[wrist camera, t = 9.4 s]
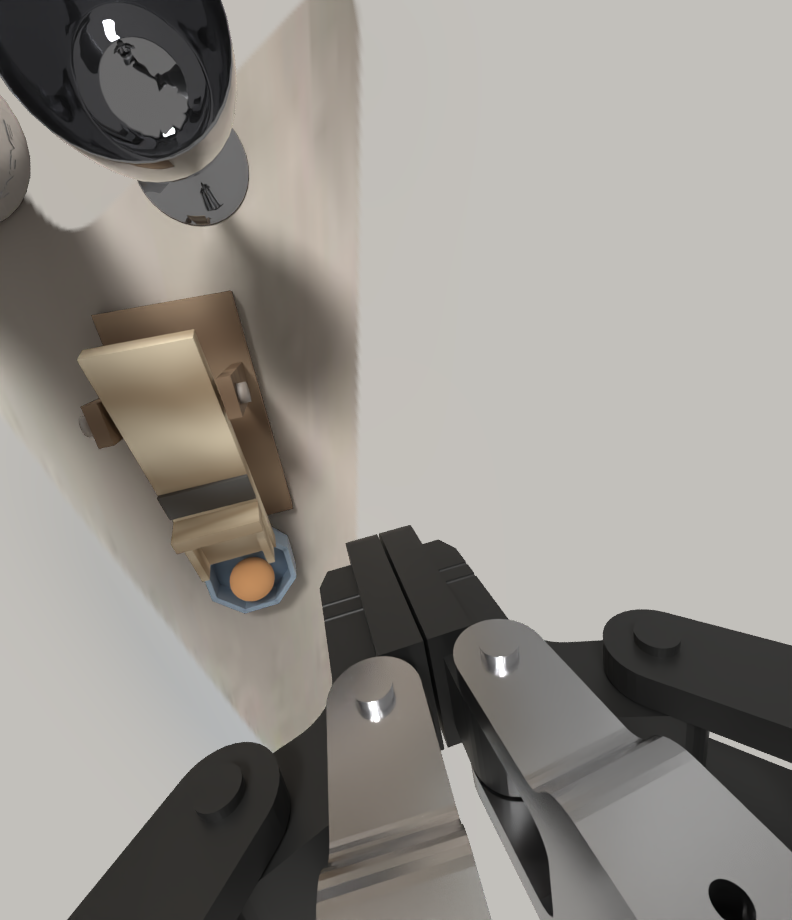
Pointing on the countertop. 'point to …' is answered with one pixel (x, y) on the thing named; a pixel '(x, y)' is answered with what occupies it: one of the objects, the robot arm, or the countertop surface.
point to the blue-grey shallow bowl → (283, 580)
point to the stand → (229, 370)
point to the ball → (252, 579)
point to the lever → (183, 445)
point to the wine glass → (135, 93)
